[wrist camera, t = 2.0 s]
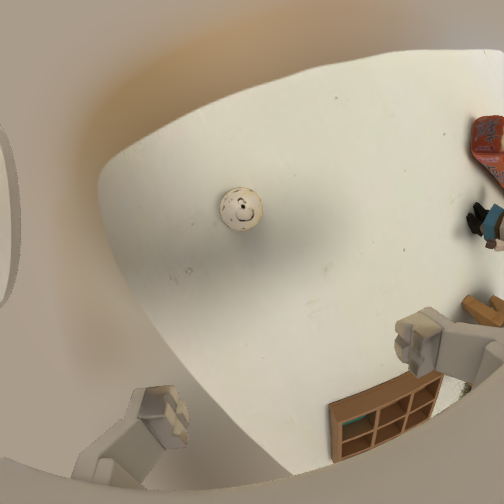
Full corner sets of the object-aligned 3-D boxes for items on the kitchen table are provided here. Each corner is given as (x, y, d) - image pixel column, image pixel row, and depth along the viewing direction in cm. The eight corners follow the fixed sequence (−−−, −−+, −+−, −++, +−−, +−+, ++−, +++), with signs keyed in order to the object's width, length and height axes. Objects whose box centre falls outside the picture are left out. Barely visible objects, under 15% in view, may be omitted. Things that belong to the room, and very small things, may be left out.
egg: (219, 225, 22) (217, 237, 17) (221, 185, 21) (220, 186, 16) (257, 227, 22) (266, 240, 18) (261, 188, 22) (271, 190, 17)
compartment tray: (328, 403, 29) (337, 422, 25) (431, 359, 29) (444, 372, 26) (331, 458, 33) (337, 473, 30) (414, 422, 34) (423, 435, 30)
